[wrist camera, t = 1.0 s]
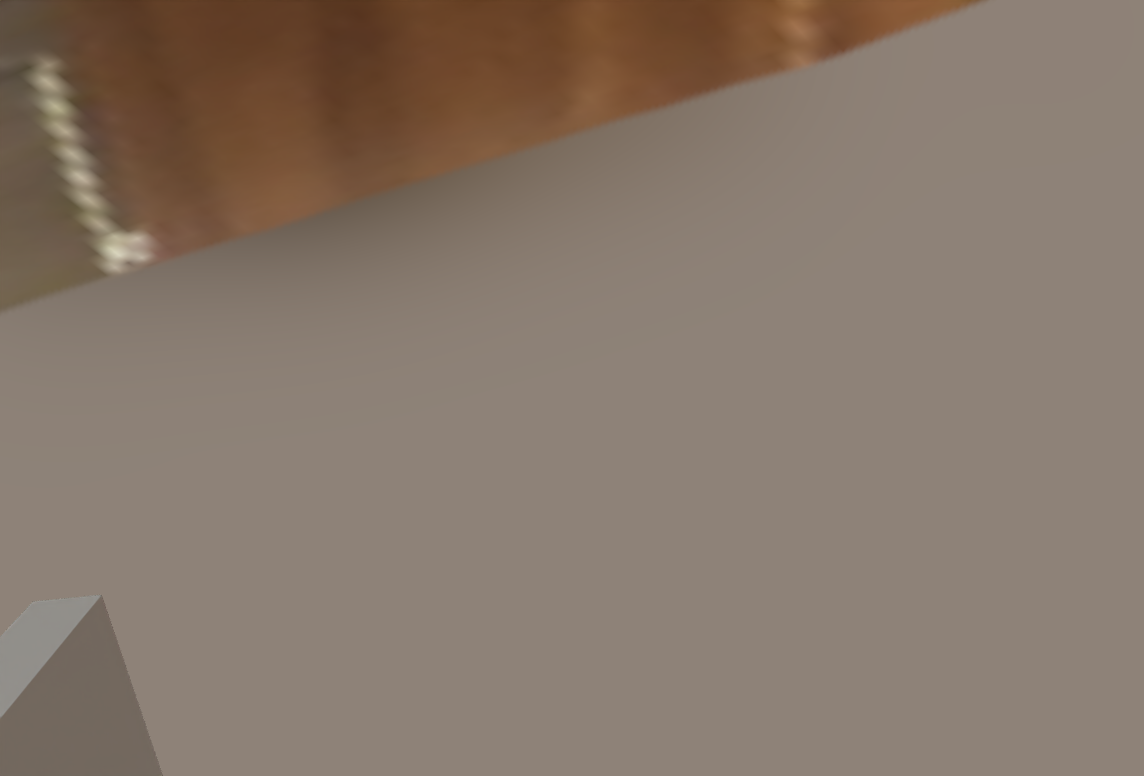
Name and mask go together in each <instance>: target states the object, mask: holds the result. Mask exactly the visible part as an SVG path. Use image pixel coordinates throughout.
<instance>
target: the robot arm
mask: <svg viewBox="0 0 1144 776" xmlns="http://www.w3.org/2000/svg"><path fill="white" fill-rule="evenodd" d="M0 776H163V775H162V772H161V769H160V766H159V763H158V760H157V757H156V754H155V751H154V748H153V745H152V742H151V739H150V736H149V733H148V731H147V728H146V724H145V721H144V719H143V716H142V713H141V710H140V707H139V704H138V701H137V698H136V695H135V692H134V689H133V686H132V683H131V680H130V677H129V674H128V671H127V668H126V665H125V662H124V659H123V656H122V654H121V651H120V648H119V645H118V642H117V639H116V636H115V633H114V630H113V627H112V624H111V621H110V618H109V615H108V612H107V610H106V606H105V603H104V600H103V597H102V595H95V596H84V597H74V598H64V599H55V600H44V601H34V602H32V603H31V604H30V605H29V606H28V607H27V609H26V610H25V611H24V612H23V613H22V614H21V615H20V616H19V617H18V618H17V619H16V620H15V621H14V622H13V623H12V625H11V626H10V627H9V628H8V629H7V630H6V631H5V632H4V633H3V634H2V635H1V636H0Z"/></svg>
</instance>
